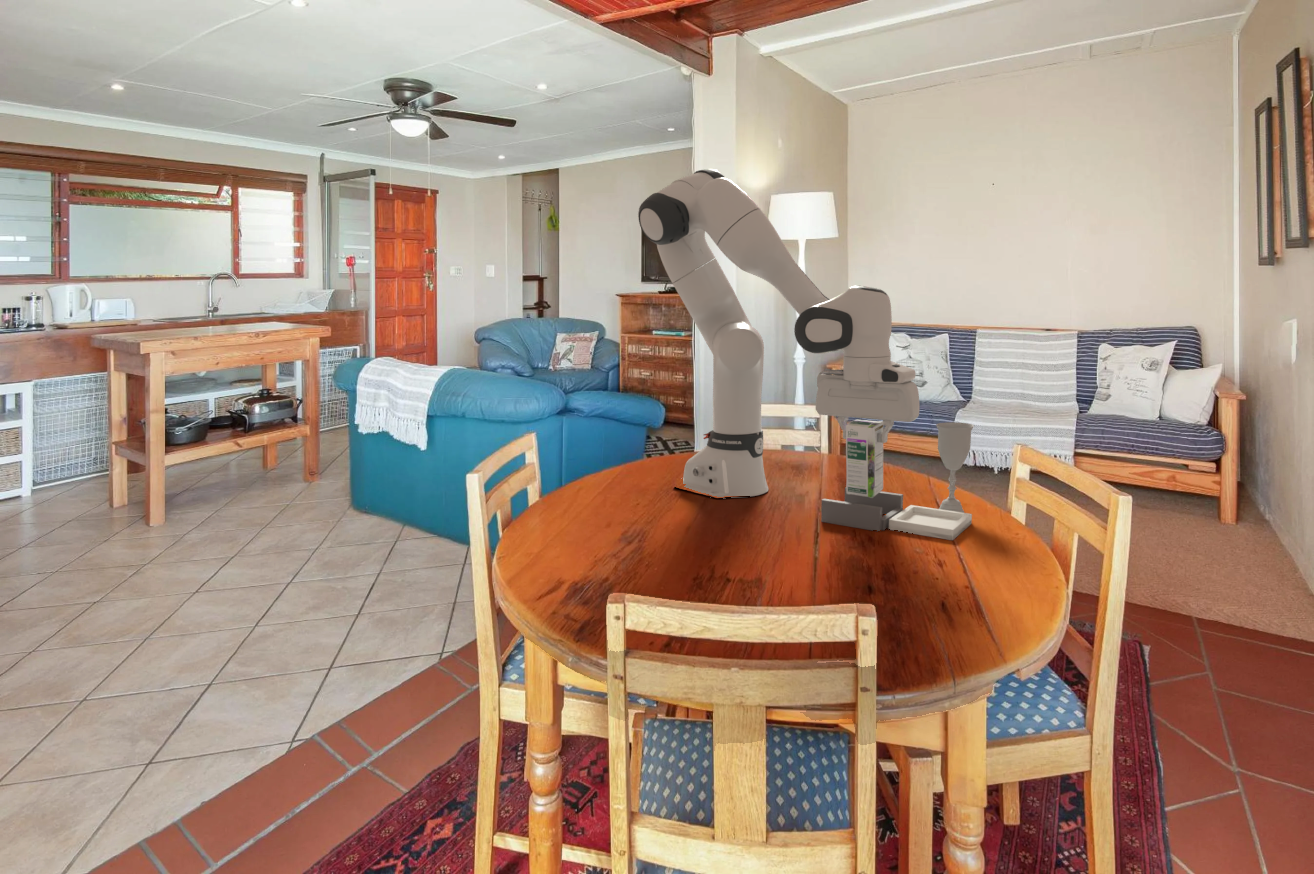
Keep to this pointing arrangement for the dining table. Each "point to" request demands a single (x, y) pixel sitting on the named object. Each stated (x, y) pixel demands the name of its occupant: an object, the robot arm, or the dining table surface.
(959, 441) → the chalice
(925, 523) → the tray
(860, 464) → the syrup box
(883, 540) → the dining table surface
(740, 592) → the dining table surface
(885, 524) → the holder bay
